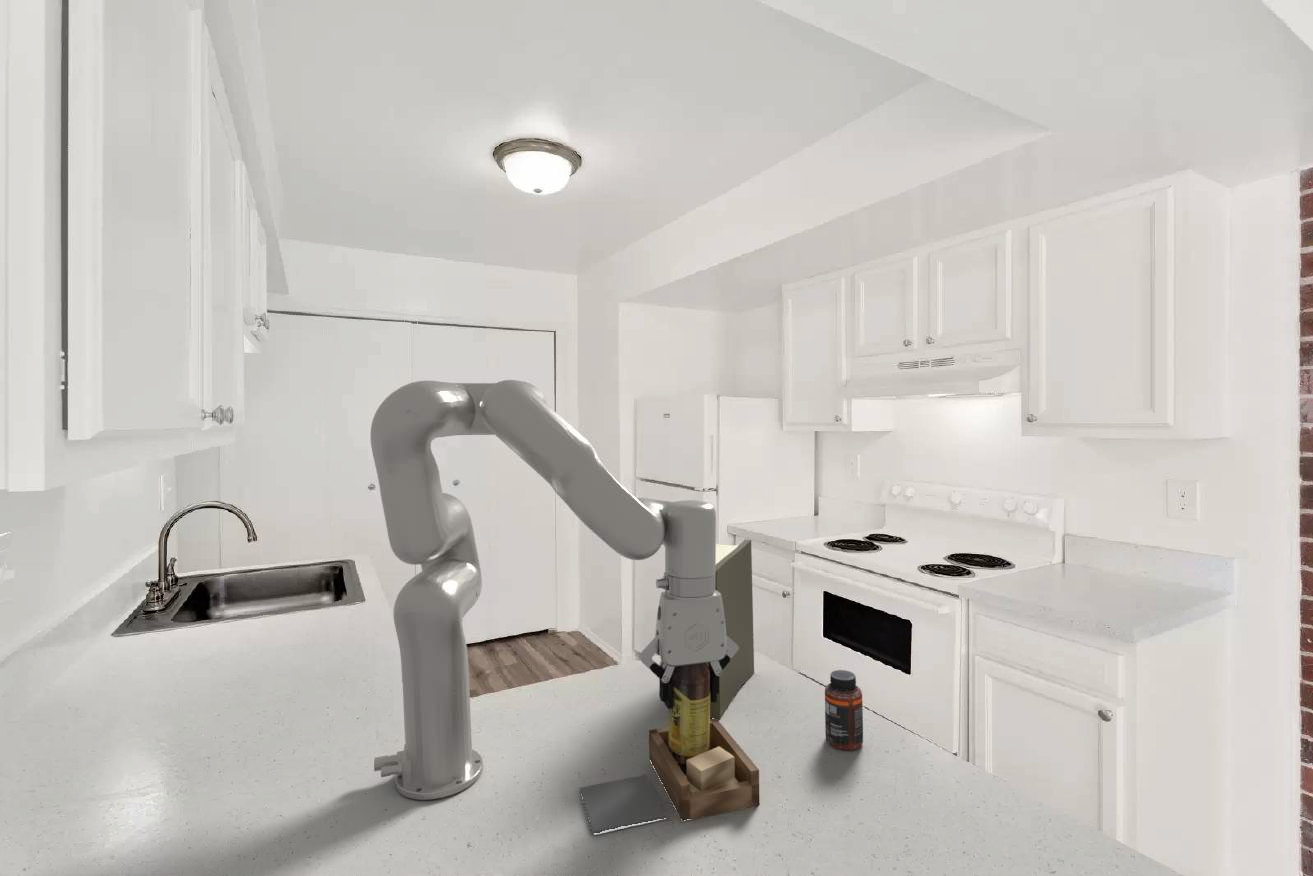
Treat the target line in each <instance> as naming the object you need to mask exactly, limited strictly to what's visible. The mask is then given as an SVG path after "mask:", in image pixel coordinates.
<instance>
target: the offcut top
mask: <svg viewBox="0 0 1313 876" xmlns="http://www.w3.org/2000/svg"><path fill="white" fill-rule="evenodd" d="M685 765H686V776H687V780H688V782H689V783H691V784H692V785H693V786H694V787H696V788H697V789H698V790H699V791H701V790H706V789H710V788H712V787H714V786H717V785H719V784H721V783H723V782H725V781H728V780H730V779H732V778H734V777H735V757H734V756H733V755H731V754H730V753H728V752H727V751H725V750H724V749H722V748H721V747H716V748H714V749H712V750H709V751H707V752H704V753H702V754H700V755H697V756H695V757H692V758H690V759H688V760H686V764H685Z"/></svg>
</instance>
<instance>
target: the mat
mask: <svg viewBox="0 0 1313 876" xmlns="http://www.w3.org/2000/svg"><path fill="white" fill-rule="evenodd" d="M580 791H581V794H582V797H583V800H582V802H583V801H584V803H583V806H584V805H585V807H584V809H585V808H586V810H585V812H586V811H587V813H586V816H587V815H588V816H587V818H588V817H589V819H588V821H589V820H590V823H589V825H590V824H591V826H590V828H591V827H592V829H591V831H592V830H593V832H592V834H593V833H600V832H602V831H605V830H609V829H615V828H618V827H621V826H628V825H632V824H638V823H642V822H648V821H653V820H657V819H664V818H667V813H666V811H665V809H664V808H663V805H662V803H661V802H660V799H659V797H658V796H657V794H656V792H655V789H654V788H653V785H652V784H651V781H650V780H649V778H648V776H647V774H641V775H637V776H636V775H635V776H632V777H626V778H622V779H617V780H612V781H607V782H602V783H597V784H592V785H588V786H587V785H586V786H583V787H579V792H580ZM581 794H580V795H581ZM582 797H581V798H582ZM667 819H668V818H667Z"/></svg>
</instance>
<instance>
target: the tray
mask: <svg viewBox="0 0 1313 876" xmlns="http://www.w3.org/2000/svg"><path fill="white" fill-rule="evenodd" d="M668 733H669V726H665V727H661V728H660V727H659V728H653V729H649V730H648V747H649V748H648V753H649V759H650V760H651V762H652V765H653V766H654V768H655V770H656V772H657V774H658V776H659V778H660V780H661V782H662V783H663V785H662V787H663V786H664V787H665V789H666V791H667V793H668V795H669V797H670V798H669V797H668V798H669V800H670V799H671V800H670V802H671V801H672V802H673V804H672V805H674V806H675V808H676V810H677V811H676V810H675V811H676V813H677V812H678V813H677V815H678V814H679V815H678V817H679V816H680V817H679V819H680V818H681V819H682V821H684V820H687V819H694V820H698V819H702V817H703V818H706V817H711V815H712V816H714V815H720V814H725V813H729V812H732V811H737V810H741V809H746V808H751V807H755V806H759V805H760V769H759V768H758V767H757V765H756V764H755V763H754V762H753V761H752V759H751V758H750V757H749V755H748V754H747V753H746V752H745V751H744V750H743V748H742V747H741V746H740V745H739V744H738V742H737V741H736V740H735V739H734V738H733V736H732V735H731V734H730V733H729V732H728V731H727V729H726V728H725V726H724V725H723V724H722V723H721V722H720V721H719V719H717V718H714V719H710V732H709V749H708V751H709V750H712V749H714V748H716V747H721V748H722V749H724V750H725V751H727V752H728V753H730V754H731V755H733V756H734V757H735V778H736V780H737V781H738V783H734V784H729V785H725V786H720V787H715V788H710V789H706V790H701V791H696V792H692V793H690V783H689V782H688V780H687V779H686V777H685V776H686V775H685V773H684V771H682V769H681V767H680V766H679V763H678V762H676V761H675V759H674V757H673V756H672V754H671V753H670V751H669V745H668ZM652 765H651V766H652ZM656 772H655V773H656ZM657 774H656V775H657ZM658 776H657V777H658ZM659 778H658V779H659ZM660 780H659V781H660ZM661 782H660V783H661ZM664 787H663V788H664ZM665 789H664V790H665ZM666 791H665V792H666ZM667 793H666V794H667ZM668 795H667V796H668ZM672 802H671V803H672ZM674 806H673V807H674ZM675 808H674V809H675ZM724 812H725V813H724ZM697 818H698V819H697ZM681 819H680V820H681ZM682 821H681V822H682Z"/></svg>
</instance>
